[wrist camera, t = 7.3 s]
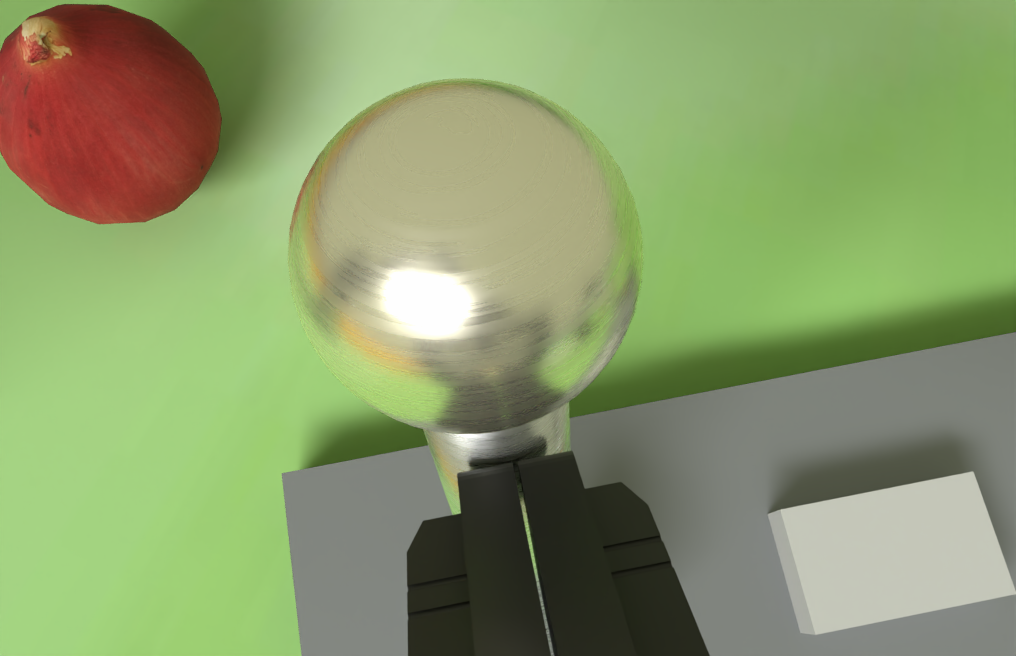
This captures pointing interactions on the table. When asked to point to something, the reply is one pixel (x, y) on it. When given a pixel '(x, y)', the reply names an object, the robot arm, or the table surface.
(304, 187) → the metal lever
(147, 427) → the table surface
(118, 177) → the onion
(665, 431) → the switch panel
